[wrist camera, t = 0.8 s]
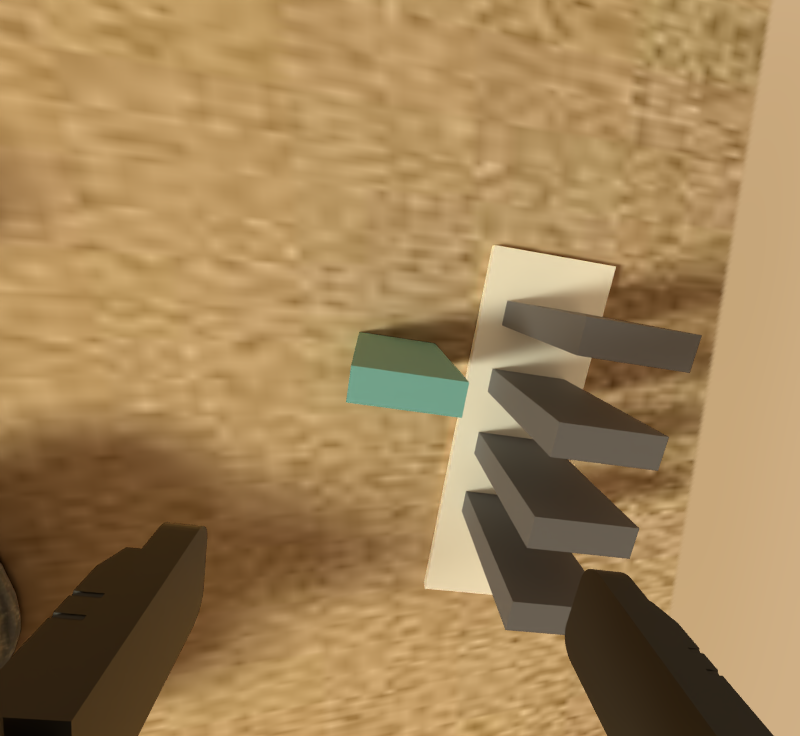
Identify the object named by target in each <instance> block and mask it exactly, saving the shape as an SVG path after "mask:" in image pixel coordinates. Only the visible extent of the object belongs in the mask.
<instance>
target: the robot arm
mask: <svg viewBox="0 0 800 736" xmlns="http://www.w3.org/2000/svg"><path fill="white" fill-rule="evenodd" d="M206 547H207V529H206V527H205V526H196V525H187V524H177V523H168V522H166V523H164V524H162V525H161V526H160V527H159V528H158V530H157V531H156V532H155V533H154V534H153V536H152V537H151V538H150V539H149V541H148V542H147V543H146V544H145V545H144V547H143V548H142V549H138V548H128V547H126V548H125V549H123V550H122V551H120V552H118V553H117V554H115V555H113V556H112V557H110V558H109V559H107V560H105V561H104V562H102V563H101V564H99V565H97V566H96V567H95V568H94V569H93V570H92V571H91V572H90V573H89V575H88V576H87V577H86V578H85V579H84V580H83V581H82V582H81V583H80V584H79V585H78V586H77V587H76V589H75V590H74V592H73V594H72V596H68V597H67V598H66V599H65V600H64V601H63V603H62V604H61V605H60V606H59V607H58V608H57V609H56V610H55V611H54V613H53V616H52V617H51V618H48V619H47V620H46V621H45V622H44V623H43V624H42V625H41V626H40V627H39V628H38V629H37V631H36V632H35V633H34V634H33V635H32V636H31V637H30V638H29V639H28V640H27V641H26V642H25V643H24V645H23V646H22V647H21V648H20V649H19V650H18V651H17V652H16V653H15V654H14V655H13V656H12V657H11V658H10V660H9V661H8V662H7V663H6V664H5V665H4V666H3V667H2V668H1V669H0V736H138V735H139V733H140V731H141V729H142V727H143V725H144V723H145V721H146V719H147V717H148V715H149V713H150V711H151V709H152V707H153V705H154V703H155V701H156V699H157V697H158V695H159V693H160V691H161V689H162V687H163V685H164V683H165V681H166V679H167V677H168V675H169V673H170V671H171V669H172V667H173V665H174V663H175V661H176V659H177V657H178V655H179V653H180V651H181V650H182V648H183V646H184V644H185V642H186V640H187V638H188V636H189V634H190V632H191V630H192V628H193V625H194V623H195V621H196V618H197V615H198V612H199V609H200V605H201V601H202V597H203V589H204V576H205V561H206ZM565 644H566V649H567V653H568V656H569V659H570V661H571V663H572V665H573V667H574V669H575V671H576V673H577V675H578V677H579V680H580V682H581V684H582V686H583V688H584V690H585V692H586V694H587V696H588V698H589V700H590V702H591V704H592V706H593V708H594V710H595V712H596V714H597V716H598V718H599V720H600V722H601V724H602V726H603V728H604V730H605V732H606V734H607V736H773V735H772V733H771V732H770V731H769V730H768V729H767V727H766V726H765V725H764V724H763V723H762V722H761V720H760V719H759V718H758V717H757V716H756V715H755V713H754V712H753V711H752V710H751V709H750V707H749V706H748V705H747V704H746V703H745V702H744V701H743V699H742V698H741V697H740V696H739V695H738V693H737V692H736V691H735V690H734V689H733V688H732V686H731V685H730V684H729V683H728V682H727V680H726V679H725V678H724V677H723V676H719V674H718V670H717V669H716V668H715V666H714V665H713V664H712V663H711V662H710V660H709V659H708V658H707V657H706V656H705V655H704V654H702V653H700V651H699V647H698V646H697V645H696V644H695V643H694V642H693V640H692V639H691V638H690V637H689V636H688V635H687V633H686V632H685V631H684V630H683V629H682V627H681V626H680V625H679V624H678V623H677V622H676V621H675V620H673V619H672V618H671V617H670V616H668V615H667V614H666V613H665V612H663V611H662V610H661V609H660V608H659V607H657V606H656V605H655V604H654V603H652V602H651V601H649V600H648V599H647V597H646V596H645V595H644V594H643V593H642V591H641V590H640V589H639V588H638V587H637V585H636V584H635V583H634V582H633V580H632V579H631V578H630V577H629V576H628V575H626V574H625V573H621V572H613V571H603V570H594V569H588V570H586V571H585V572H584V573H583V575H582V577H581V580H580V583H579V586H578V589H577V592H576V595H575V598H574V601H573V605H572V608H571V611H570V614H569V617H568V620H567V623H566V627H565Z"/></svg>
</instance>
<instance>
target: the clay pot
mask: <svg viewBox="0 0 800 736" xmlns="http://www.w3.org/2000/svg"><path fill="white" fill-rule="evenodd" d="M20 631H21V620H20V609H19V605H18V601H17V597H16V593H15V591H14V589H13V586H12V584H11V582H10V580H9V578H8V576H7V574H6V572H5V570H4V568H3V566H2V564H1V563H0V669H1V668H2V667H3V666H4V665H5V664H6V663H7V662H8V661H9V660H10V658H11V656H12V655H13V653H14V651H15V648H16V645H17V641H18V638H19V635H20Z"/></svg>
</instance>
